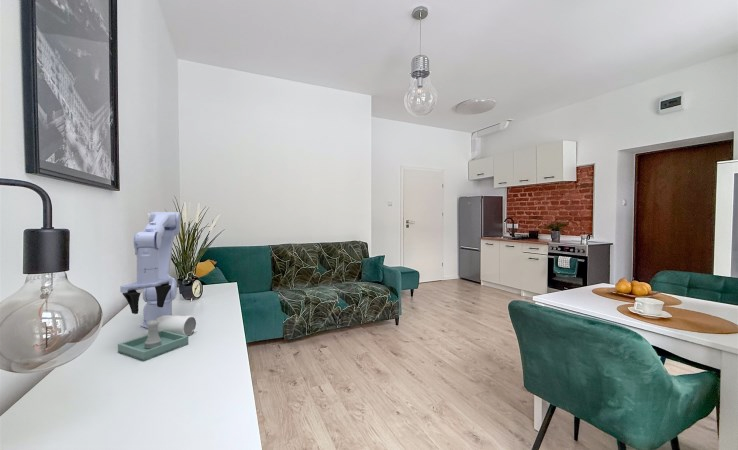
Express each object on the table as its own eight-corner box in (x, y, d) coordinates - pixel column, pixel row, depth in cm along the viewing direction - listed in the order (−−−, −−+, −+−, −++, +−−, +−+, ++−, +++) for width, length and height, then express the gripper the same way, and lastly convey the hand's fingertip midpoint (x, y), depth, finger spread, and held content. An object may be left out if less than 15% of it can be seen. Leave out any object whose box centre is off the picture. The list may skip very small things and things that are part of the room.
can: (183, 319, 101) (150, 318, 102) (183, 338, 101) (150, 337, 102) (196, 313, 107) (165, 313, 108) (196, 331, 107) (165, 330, 108)
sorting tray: (117, 352, 90) (117, 344, 90) (163, 337, 102) (163, 330, 102) (143, 361, 84) (143, 352, 84) (188, 344, 96) (188, 336, 96)
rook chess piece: (152, 350, 90) (152, 323, 90) (140, 348, 91) (140, 322, 91) (165, 344, 95) (165, 318, 95) (153, 342, 96) (153, 317, 96)
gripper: (129, 273, 90) (129, 318, 90) (177, 266, 103) (178, 305, 103) (116, 271, 92) (116, 315, 93) (164, 264, 106) (165, 303, 106)
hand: (148, 310), depth 98 cm, fingers open, 7 cm apart
